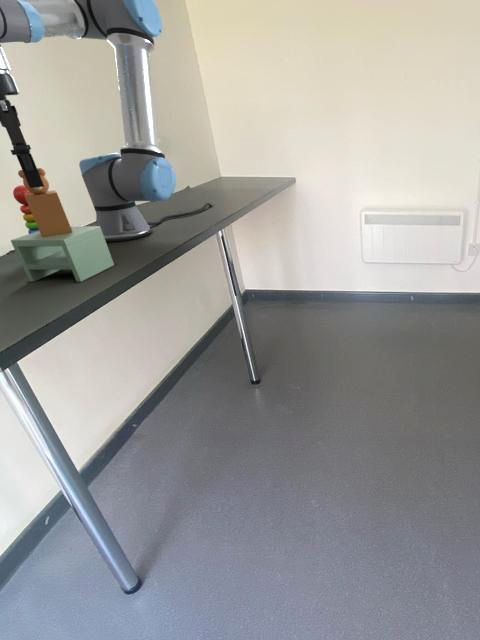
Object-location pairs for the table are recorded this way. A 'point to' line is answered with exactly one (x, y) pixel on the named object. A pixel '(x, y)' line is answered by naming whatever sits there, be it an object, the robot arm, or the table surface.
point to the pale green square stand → (64, 253)
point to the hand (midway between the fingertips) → (35, 184)
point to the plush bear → (46, 208)
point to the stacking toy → (25, 208)
